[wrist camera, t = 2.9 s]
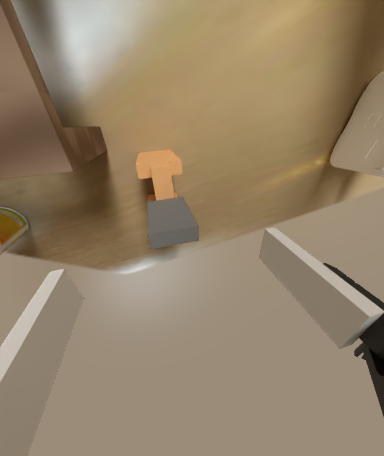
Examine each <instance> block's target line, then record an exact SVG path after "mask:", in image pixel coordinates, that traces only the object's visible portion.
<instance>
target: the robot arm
mask: <svg viewBox="0 0 384 456" xmlns="http://www.w3.org/2000/svg"><path fill="white" fill-rule="evenodd" d="M259 258H260V259H261V260H262V261H263V263H264V264H265V265H266V266H267V267H268V268H269V269H270V270H271V272H272V273H273V274H274V275H275V276H276V277H277V279H279V281H280V282H281V283H282V284H283V285H284V286H285V287H286V289H287V290H288V291H289V292H290V293H291V294H292V296H293V297H294V298H295V299H296V300H297V301H298V302H299V303H300V305H301V306H302V307H303V308H304V309H305V310H306V311H307V313H308V314H309V315H310V316H311V317H312V318H313V319H314V320H315V322H316V323H317V324H318V325H319V326H320V327H321V328H322V330H323V331H324V332H325V333H326V334H327V335H328V336H329V337H330V339H331V340H332V341H333V342H334V343H335V344H336V345H337V346H338V348H339V349H340V348H343V347H346V346H349V345H351V344H353V343H354V342H355V341H356V340H357V339H358V338H360V339H361V340H362V341H363V343H362V344H361V345H360V346H359V347H357V348H356V350H355V351H354V353H355V354H354V355H355V356H356V357H358V356H359V355H360V354H361V353H364V355H363V356H362V359H364V360H366V362H367V365H368V368H369V372H370V375H371V378H372V381H373V384H374V387H375V391H376V394H377V397H378V400H379V403H380V406H381V410H382V413H383V416H384V303H383V302H382V301H380V300H379V299H378V298H376V297H375V296H373V295H372V294H371V293H370V292H368V291H367V290H365V289H364V288H363V287H361V286H360V285H359V284H357V283H355V282H354V281H353V280H352V279H350V278H349V277H347V276H346V275H345V274H343V273H342V272H341V271H339V270H338V269H337V268H335V267H333V266H331V265H329V264H326V263H323V264H322V263H321V262H319V261H318V260H317V259H315V258H314V257H313V256H312V255H310V254H309V253H308V252H306V251H305V250H304V249H302V248H301V247H300V246H298V245H297V244H296V243H295V242H293V241H292V240H291V239H289V238H288V237H287V236H285V235H284V234H283V233H281V232H280V231H279V230H278V229H276V228H275V227H273V228H268V229H265V232H264V237H263V241H262V246H261V250H260V255H259ZM83 299H84V297H83V296H82V294H81V293H80V291H79V290H78V288H77V287H76V285H75V284H74V282H73V281H72V279H71V278H70V276H69V275H68V273H67V272H66V270H65V269H61V270H56V271H51V272H50V273H49V274H48V275H47V277H46V278H45V280H44V282H43V283H42V284H41V286H40V288H39V289H38V291H37V292H36V294H35V295H34V297H33V298H32V300H31V301H30V303H29V304H28V306H27V307H26V309H25V310H24V312H23V313H22V315H21V316H20V318H19V319H18V321H17V323H16V324H15V326H14V327H13V329H12V330H11V332H10V333H9V335H8V336H7V338H6V340H5V341H4V342H3V344H2V345H1V347H0V456H28V454H29V451H30V448H31V445H32V442H33V440H34V437H35V434H36V431H37V428H38V425H39V423H40V420H41V417H42V414H43V411H44V409H45V406H46V403H47V400H48V398H49V395H50V392H51V389H52V386H53V384H54V381H55V378H56V375H57V372H58V369H59V367H60V364H61V361H62V358H63V355H64V352H65V349H66V347H67V344H68V341H69V339H70V336H71V333H72V330H73V327H74V324H75V322H76V319H77V316H78V313H79V310H80V308H81V305H82V302H83Z"/></svg>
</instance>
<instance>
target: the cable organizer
mask: <svg viewBox="0 0 384 456" xmlns="http://www.w3.org/2000/svg"><path fill="white" fill-rule="evenodd" d="M330 164H331V165H332V166H334V167H338V168H342V169H347V170H352V171H356V172H361V173H365V174H370V175H375V176H381V177H384V71H382V72H381V73H379V74H378V75H377V76H376V77H375V78H374V79H373V80H372V81H371V82H370V84H369V85H368V86H367V88H366V90H365V91H364V92H363V94H362V95H361V97H360V99H359V101H358V103H357V105H356V107H355V109H354V111H353V114H352V116H351V118H350V120H349V122H348V124H347V125H346V127H345V129H344V131H343V133H342V134H341V135H340V137H339V139H338V141H337V143H336V145H335V147H334V149H333V152H332V154H331V157H330Z"/></svg>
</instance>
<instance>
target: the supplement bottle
mask: <svg viewBox="0 0 384 456" xmlns="http://www.w3.org/2000/svg"><path fill="white" fill-rule="evenodd" d="M27 230H28V222H27V220H26V218H25V217H24V216H23V215H22V214H20V213H19V212H17V211H15V210H13V209H10V208H6V207H0V255H1V254H2V253H3V252H4V251H5V250H6V249H8V248H9V247H10V246H11V245H12V244H13V243H14V242H15V241H17V240H18V239H19V238H20V237H21V236H22V235H23V234H24V233H25V232H26V231H27Z"/></svg>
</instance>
